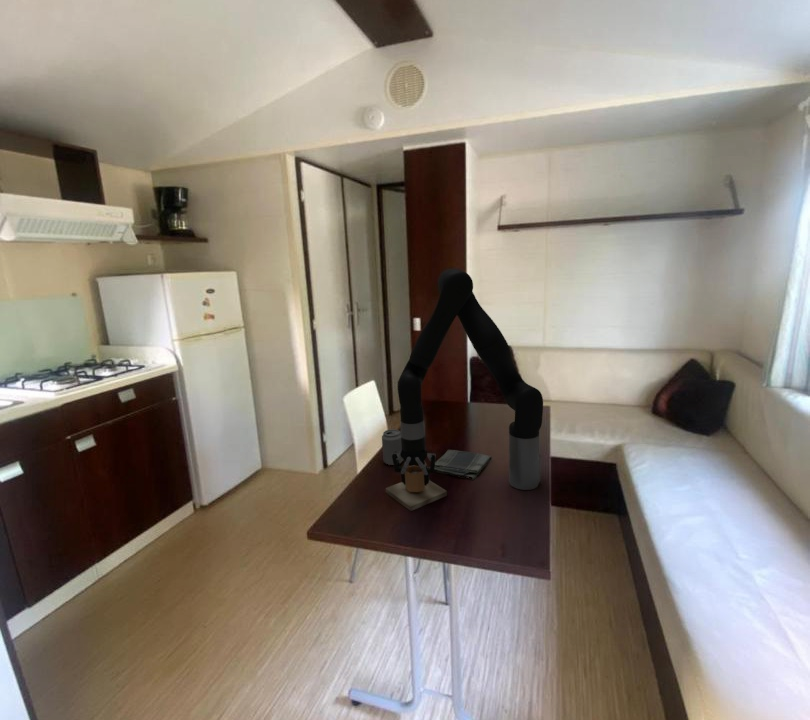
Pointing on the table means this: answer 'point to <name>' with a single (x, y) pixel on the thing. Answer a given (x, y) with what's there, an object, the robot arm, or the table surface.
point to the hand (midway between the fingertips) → (415, 483)
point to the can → (391, 445)
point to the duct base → (415, 495)
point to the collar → (414, 479)
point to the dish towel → (461, 463)
